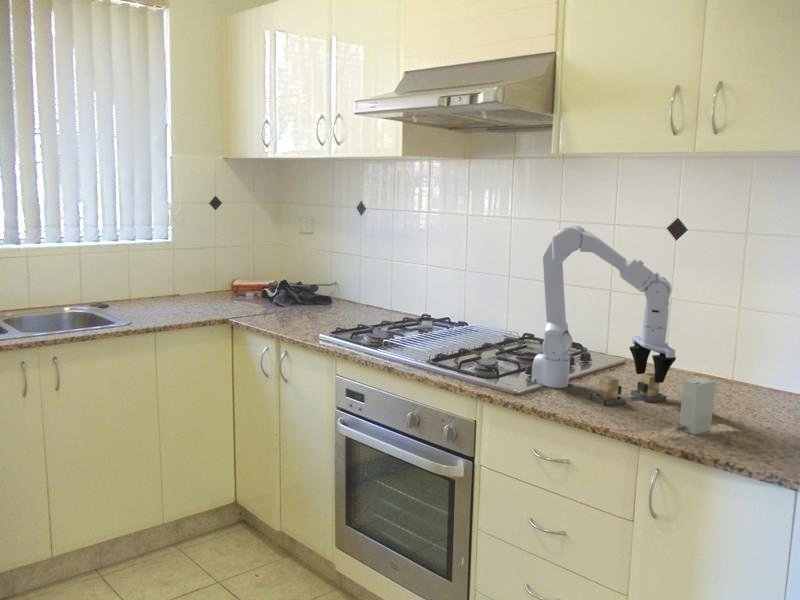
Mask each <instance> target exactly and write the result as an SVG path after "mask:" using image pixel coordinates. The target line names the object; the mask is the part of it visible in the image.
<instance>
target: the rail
mask: <svg viewBox="0 0 800 600" xmlns="http://www.w3.org/2000/svg"><path fill="white" fill-rule="evenodd" d="M590 399H591V400H593V401H595V402H597V404H600V405H602V406H604V407H607V406H610V407H611V406H618V405H626V403H630V402H641V401H642V402H643V403H654V402H655V403H656V402H666V400H667V396H666V395H665V394H662V393H660V392H659V395H658V396H652V397H645V396H643V395H641V394H640V391H639V390H637V389H634V390H631V391H630V396H627V397H622V396H619V395H618V396H617V399H616V400H604V399H602V398H600V397H599V392H595V393H590Z"/></svg>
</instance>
